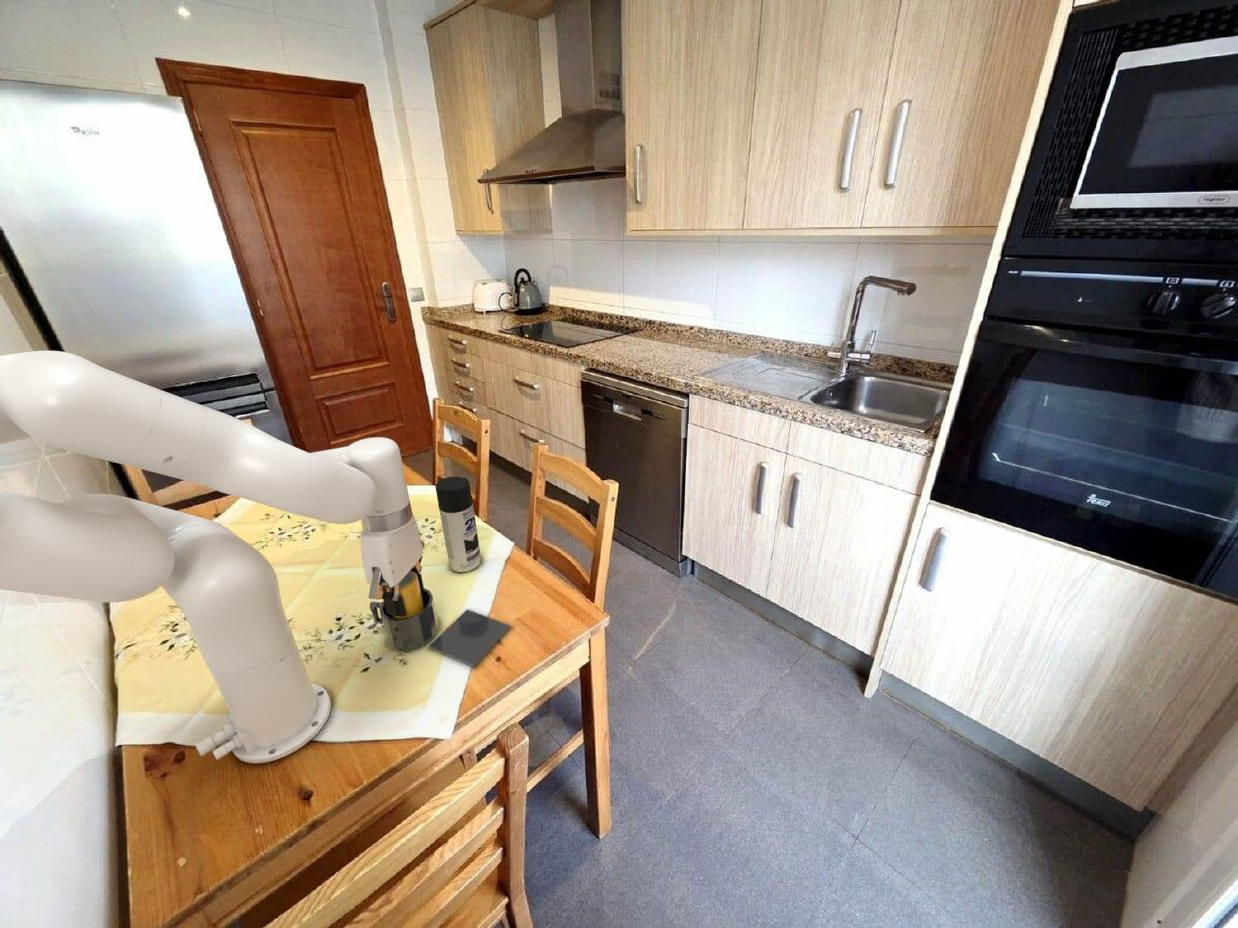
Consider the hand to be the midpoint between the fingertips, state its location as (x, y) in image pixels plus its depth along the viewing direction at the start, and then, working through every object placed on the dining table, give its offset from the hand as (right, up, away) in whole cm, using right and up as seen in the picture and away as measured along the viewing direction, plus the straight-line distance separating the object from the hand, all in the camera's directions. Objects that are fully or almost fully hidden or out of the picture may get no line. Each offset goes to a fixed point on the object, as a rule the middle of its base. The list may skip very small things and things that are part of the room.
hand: (406, 601), depth 88 cm
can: (0, -6, +3) cm, 7 cm away
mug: (-2, -6, +3) cm, 7 cm away
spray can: (+4, +2, +21) cm, 22 cm away
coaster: (+11, -7, +2) cm, 13 cm away
